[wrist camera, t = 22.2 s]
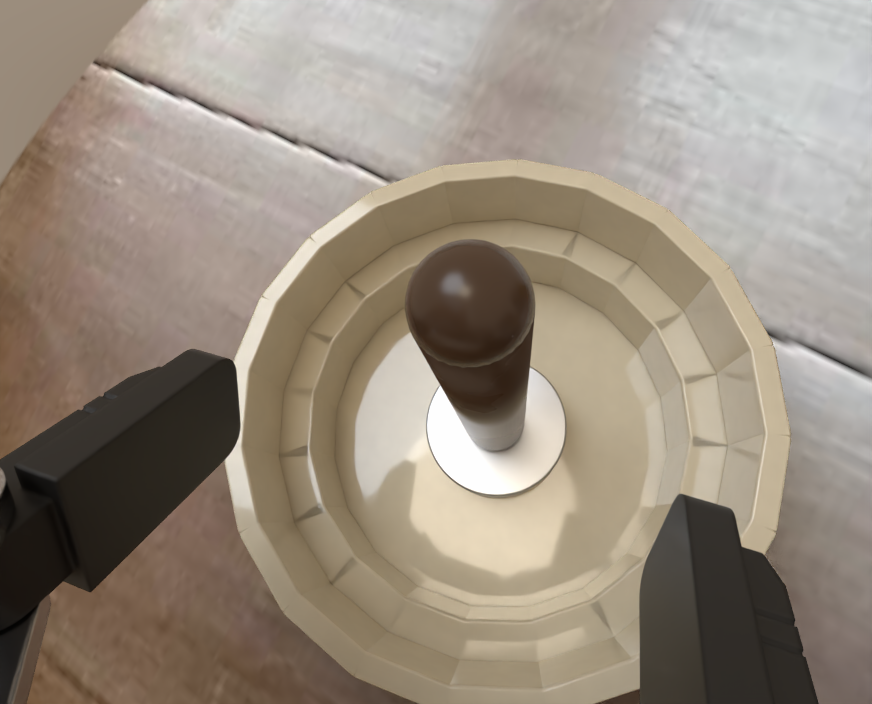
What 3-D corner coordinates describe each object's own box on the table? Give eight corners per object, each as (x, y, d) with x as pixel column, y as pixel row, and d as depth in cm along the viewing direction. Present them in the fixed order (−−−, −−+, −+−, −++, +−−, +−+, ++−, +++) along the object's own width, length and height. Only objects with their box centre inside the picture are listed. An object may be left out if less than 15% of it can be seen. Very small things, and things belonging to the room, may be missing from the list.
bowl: (240, 569, 19) (137, 588, 14) (374, 214, 23) (331, 123, 17) (661, 732, 16) (731, 834, 11) (744, 296, 20) (827, 214, 14)
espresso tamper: (415, 475, 19) (239, 398, 7) (454, 354, 20) (359, 103, 8) (544, 516, 18) (602, 512, 6) (577, 387, 19) (684, 159, 7)
